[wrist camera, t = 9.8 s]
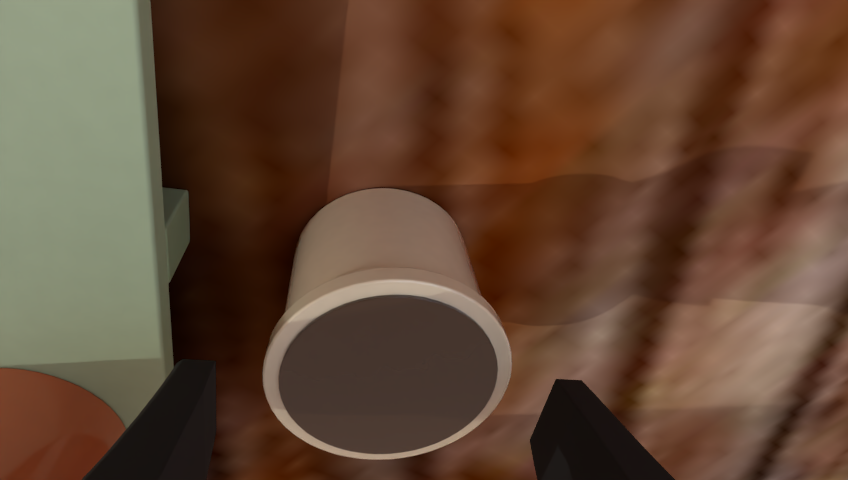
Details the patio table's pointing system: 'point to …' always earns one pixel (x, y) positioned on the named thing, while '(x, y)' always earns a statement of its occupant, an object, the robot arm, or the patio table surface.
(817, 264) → the patio table surface
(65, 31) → the sage green baseplate
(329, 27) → the patio table surface
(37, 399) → the terracotta pot
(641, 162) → the patio table surface
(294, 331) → the cream pot
